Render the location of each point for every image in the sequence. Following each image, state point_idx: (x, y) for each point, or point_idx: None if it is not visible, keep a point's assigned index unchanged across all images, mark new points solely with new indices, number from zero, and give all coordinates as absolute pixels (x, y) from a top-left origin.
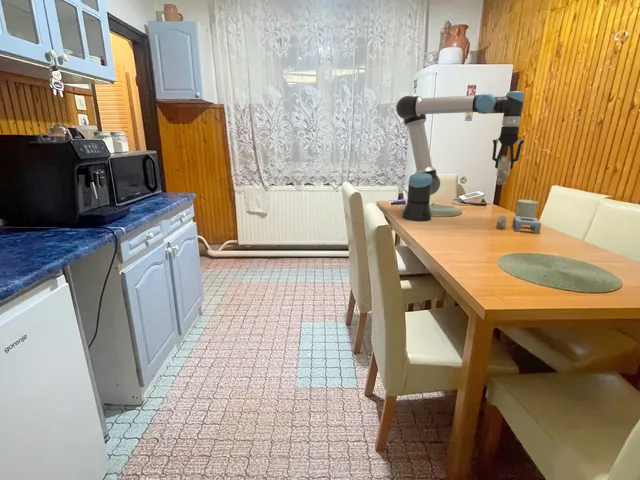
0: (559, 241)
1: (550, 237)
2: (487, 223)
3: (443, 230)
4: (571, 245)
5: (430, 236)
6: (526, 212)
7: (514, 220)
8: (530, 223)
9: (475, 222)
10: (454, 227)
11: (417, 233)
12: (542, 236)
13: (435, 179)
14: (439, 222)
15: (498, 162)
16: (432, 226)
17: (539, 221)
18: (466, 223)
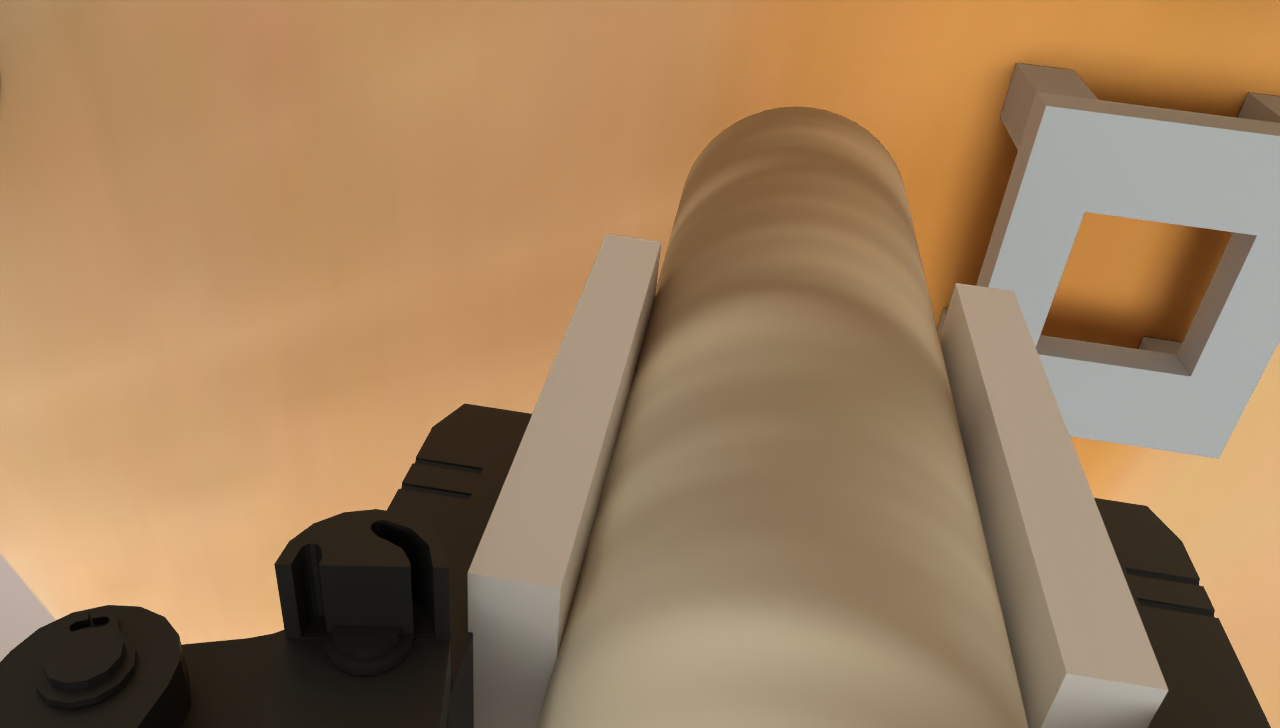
0: (1221, 587)
1: (1220, 486)
2: (694, 36)
3: (242, 475)
4: (1253, 667)
5: (192, 639)
6: None
7: (998, 216)
8: (1097, 431)
9: (539, 28)
10: (317, 351)
11: (87, 591)
12: (1150, 470)
13: None
14: (132, 177)
15: (475, 717)
16: (119, 368)
17: (1265, 364)
18: (427, 129)
